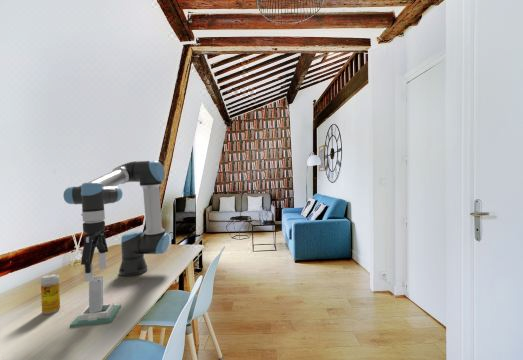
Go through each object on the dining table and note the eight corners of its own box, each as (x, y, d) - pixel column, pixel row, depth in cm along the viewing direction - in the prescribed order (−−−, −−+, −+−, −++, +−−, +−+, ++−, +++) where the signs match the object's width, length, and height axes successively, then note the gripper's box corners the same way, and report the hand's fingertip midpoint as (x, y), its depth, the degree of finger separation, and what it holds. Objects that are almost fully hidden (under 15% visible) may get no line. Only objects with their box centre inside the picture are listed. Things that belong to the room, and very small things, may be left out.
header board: (84, 311, 115) (84, 303, 115) (121, 306, 117) (120, 299, 117) (69, 327, 102) (69, 319, 102) (111, 322, 105) (110, 314, 105)
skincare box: (91, 307, 111) (90, 277, 111) (104, 304, 113) (103, 275, 113) (88, 313, 106) (87, 282, 106) (102, 311, 108) (101, 280, 107)
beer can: (39, 316, 111) (38, 279, 111) (44, 309, 117) (43, 274, 117) (58, 312, 114) (56, 276, 113) (61, 306, 119) (60, 272, 119)
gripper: (95, 216, 121) (97, 264, 121) (68, 228, 96) (71, 288, 97) (114, 215, 122) (116, 263, 123) (91, 226, 98) (94, 285, 98)
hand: (96, 274), depth 110 cm, fingers open, 13 cm apart
